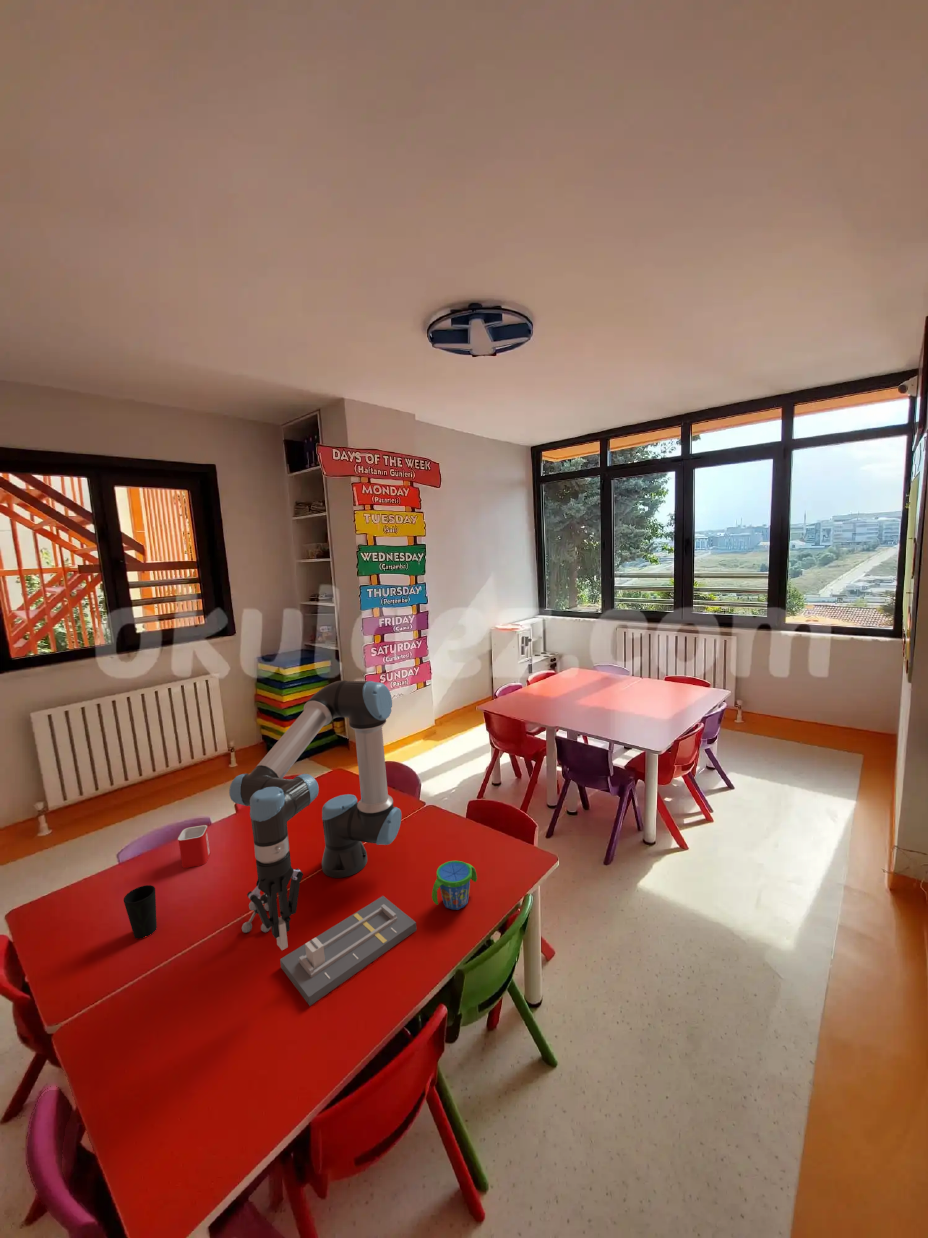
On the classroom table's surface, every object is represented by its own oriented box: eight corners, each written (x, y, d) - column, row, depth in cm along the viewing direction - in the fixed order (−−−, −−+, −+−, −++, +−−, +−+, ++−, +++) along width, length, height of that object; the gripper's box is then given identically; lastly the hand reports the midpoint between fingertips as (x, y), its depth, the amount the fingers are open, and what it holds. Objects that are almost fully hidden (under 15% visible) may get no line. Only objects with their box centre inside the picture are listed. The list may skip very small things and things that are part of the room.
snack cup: (467, 882, 158) (465, 852, 157) (487, 900, 149) (485, 869, 148) (424, 903, 150) (422, 872, 148) (442, 924, 141) (440, 891, 140)
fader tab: (306, 961, 128) (304, 943, 127) (317, 954, 130) (315, 936, 129) (314, 970, 125) (312, 952, 124) (325, 963, 127) (323, 945, 126)
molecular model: (240, 935, 141) (236, 901, 140) (259, 905, 153) (255, 873, 152) (269, 934, 141) (265, 900, 140) (285, 904, 153) (281, 872, 151)
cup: (167, 924, 147) (161, 887, 145) (143, 944, 140) (136, 905, 138) (147, 919, 149) (142, 883, 148) (123, 939, 142) (116, 900, 141)
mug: (206, 865, 175) (202, 837, 173) (180, 869, 173) (176, 841, 171) (214, 845, 186) (211, 819, 185) (190, 849, 185) (186, 823, 183)
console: (280, 967, 129) (279, 953, 129) (383, 903, 151) (382, 891, 150) (309, 1006, 118) (308, 991, 117) (416, 930, 139) (415, 917, 139)
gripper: (250, 874, 110) (261, 971, 113) (306, 849, 119) (315, 938, 122) (238, 861, 116) (249, 953, 119) (292, 837, 124) (301, 923, 127)
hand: (282, 945), depth 120 cm, fingers closed
